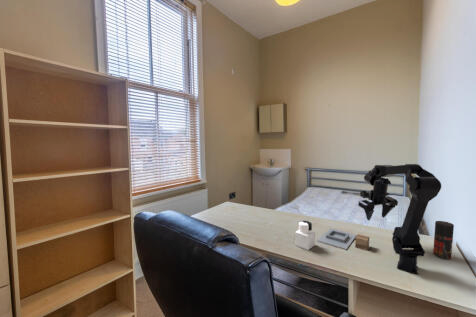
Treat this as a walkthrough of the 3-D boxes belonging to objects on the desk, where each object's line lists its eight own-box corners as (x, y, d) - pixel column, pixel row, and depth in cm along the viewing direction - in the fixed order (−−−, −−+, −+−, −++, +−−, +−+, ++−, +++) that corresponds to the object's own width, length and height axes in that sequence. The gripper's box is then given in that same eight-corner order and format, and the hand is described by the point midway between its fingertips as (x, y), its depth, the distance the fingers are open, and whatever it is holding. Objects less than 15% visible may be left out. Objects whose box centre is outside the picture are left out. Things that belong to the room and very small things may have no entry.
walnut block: (366, 250, 103) (367, 240, 103) (355, 247, 107) (355, 237, 106) (369, 246, 107) (369, 236, 107) (357, 243, 110) (358, 234, 110)
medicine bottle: (302, 240, 114) (302, 218, 113) (315, 245, 109) (315, 221, 108) (294, 245, 109) (295, 222, 108) (308, 250, 104) (308, 226, 103)
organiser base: (346, 249, 104) (346, 245, 104) (317, 241, 113) (317, 237, 113) (356, 235, 119) (356, 231, 119) (330, 228, 128) (330, 225, 128)
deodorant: (432, 251, 102) (434, 219, 100) (450, 255, 98) (453, 222, 97) (433, 256, 97) (435, 223, 96) (452, 261, 93) (454, 227, 92)
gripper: (380, 182, 117) (377, 208, 121) (351, 186, 112) (348, 213, 116) (401, 189, 106) (395, 218, 110) (369, 194, 102) (365, 224, 106)
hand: (375, 218), depth 111 cm, fingers open, 9 cm apart
